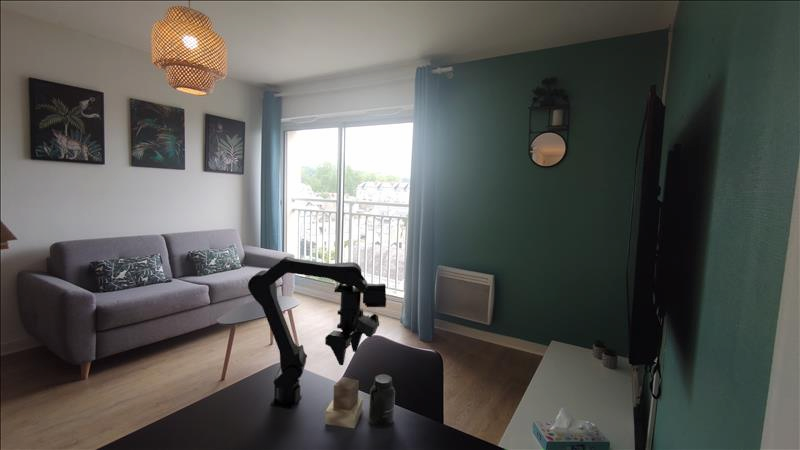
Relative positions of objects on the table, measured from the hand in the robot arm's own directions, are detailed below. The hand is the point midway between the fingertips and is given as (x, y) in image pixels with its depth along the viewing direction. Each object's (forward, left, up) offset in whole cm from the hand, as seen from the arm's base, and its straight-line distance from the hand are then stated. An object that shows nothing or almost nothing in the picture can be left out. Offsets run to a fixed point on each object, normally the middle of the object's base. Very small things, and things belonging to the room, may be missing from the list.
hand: (348, 358), depth 106 cm
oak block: (+3, -8, -13) cm, 16 cm away
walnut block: (+3, -8, -9) cm, 12 cm away
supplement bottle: (+13, -6, -13) cm, 19 cm away
